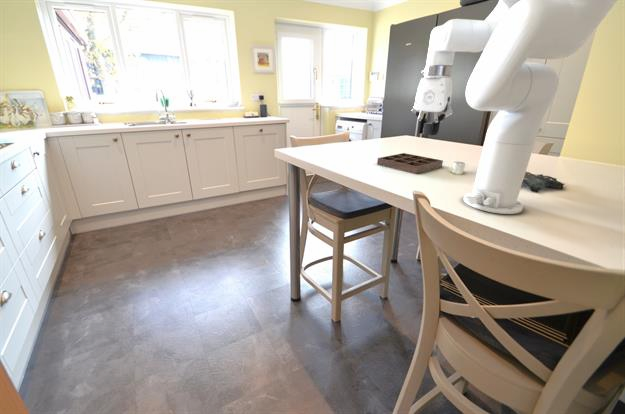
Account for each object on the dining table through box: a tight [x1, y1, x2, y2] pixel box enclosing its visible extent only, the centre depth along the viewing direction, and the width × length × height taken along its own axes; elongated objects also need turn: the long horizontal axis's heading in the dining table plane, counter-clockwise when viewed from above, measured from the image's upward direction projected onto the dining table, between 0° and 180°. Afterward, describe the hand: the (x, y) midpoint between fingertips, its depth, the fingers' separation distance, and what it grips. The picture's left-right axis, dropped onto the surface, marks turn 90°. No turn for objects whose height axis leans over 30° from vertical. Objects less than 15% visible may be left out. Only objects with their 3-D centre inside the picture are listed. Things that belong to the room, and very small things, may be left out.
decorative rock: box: [522, 171, 565, 193], centre depth 87 cm, size 19×6×15 cm
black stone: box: [421, 122, 433, 136], centre depth 93 cm, size 4×4×4 cm
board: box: [376, 152, 444, 175], centre depth 107 cm, size 17×17×2 cm
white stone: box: [451, 161, 466, 175], centre depth 98 cm, size 4×4×4 cm
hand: (427, 133), depth 94 cm, fingers closed on black stone, 3 cm apart
